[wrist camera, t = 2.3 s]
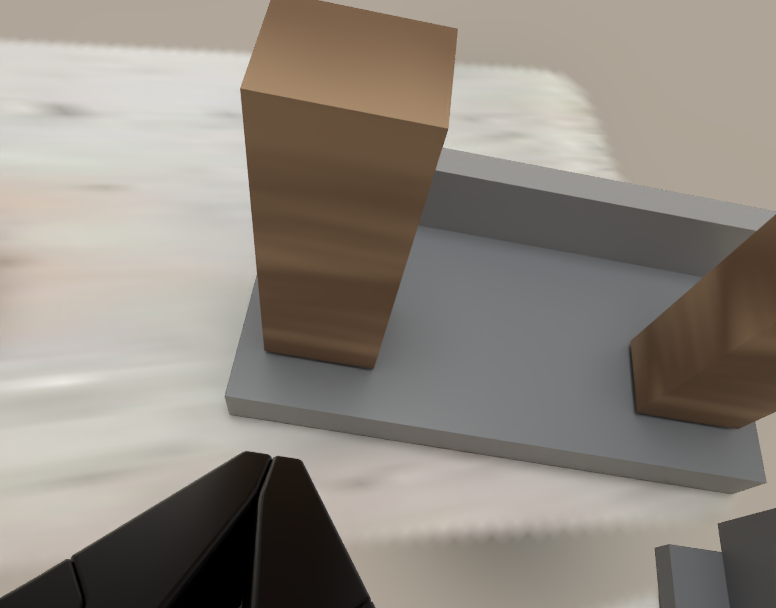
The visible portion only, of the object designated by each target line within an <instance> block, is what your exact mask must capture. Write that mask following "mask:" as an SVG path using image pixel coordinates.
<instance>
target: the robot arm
mask: <svg viewBox="0 0 776 608" xmlns="http://www.w3.org/2000/svg"><path fill="white" fill-rule="evenodd" d="M0 608H375V605H374V604H373V602H371V598H370V596H369V594H368V592H367V590H366V588H365V586H364V584H363V582H362V580H361V578H360V576H359V574H358V572H357V570H356V568H355V566H354V564H353V562H352V560H351V558H350V556H349V554H348V552H347V550H346V548H345V546H344V544H343V542H342V540H341V538H340V536H339V534H338V532H337V530H336V528H335V526H334V524H333V522H332V520H331V518H330V516H329V514H328V512H327V510H326V508H325V506H324V504H323V502H322V500H321V498H320V496H319V494H318V492H317V490H316V488H315V486H314V484H313V482H312V480H311V478H310V476H309V474H308V472H307V470H306V468H305V466H304V464H303V462H302V461H301V460H299V459H294V458H288V457H281V456H276V457H274V458H273V459H272V458H271V456H270V455H268V454H262V453H255V452H249V451H245V452H242V453H240V454H239V455H237V456H235V457H234V458H232V459H230V460H229V461H227V462H226V463H224V464H222V465H221V466H219V467H217V468H216V469H214V470H212V471H211V472H209V473H207V474H206V475H204V476H202V477H201V478H199V479H198V480H196V481H194V482H193V483H191V484H189V485H188V486H186V487H184V488H183V489H181V490H179V491H178V492H176V493H175V494H173V495H171V496H170V497H168V498H166V499H165V500H163V501H161V502H160V503H158V504H156V505H155V506H153V507H151V508H150V509H148V510H147V511H145V512H143V513H142V514H140V515H138V516H137V517H135V518H133V519H132V520H130V521H128V522H127V523H125V524H123V525H122V526H120V527H119V528H117V529H115V530H114V531H112V532H110V533H109V534H107V535H105V536H104V537H102V538H100V539H99V540H97V541H96V542H94V543H92V544H91V545H89V546H87V547H86V548H84V549H82V550H81V551H79V552H77V553H76V554H74V555H73V556H72V557H71V559H66V560H64V561H62V562H61V563H59V564H57V565H56V566H54V567H52V568H51V569H49V570H47V571H46V572H44V573H42V574H41V575H39V576H37V577H36V578H34V579H32V580H30V581H29V582H27V583H25V584H23V585H22V586H20V587H18V588H16V589H15V590H13V591H11V592H10V593H8V594H6V595H4V596H3V597H1V598H0Z"/></svg>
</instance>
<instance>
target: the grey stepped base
mask: <svg viewBox="0 0 776 608" xmlns="http://www.w3.org/2000/svg"><path fill="white" fill-rule="evenodd" d="M775 214H776V211H771V210H766V209H761V208H756V207H750V206H745V205H740V204H734V203H730V202H724V201H719V200H714V199H709V198H703V197H698V196H693V195H687V194H682V193H677V192H672V191H667V190H662V189H656V188H651V187H645V186H641V185H635V184H630V183H625V182H620V181H614V180H609V179H604V178H599V177H594V176H588V175H583V174H578V173H573V172H567V171H562V170H557V169H552V168H546V167H541V166H536V165H531V164H525V163H520V162H515V161H510V160H505V159H499V158H494V157H489V156H484V155H478V154H473V153H468V152H463V151H457V150H452V149H447V148H442V151H441V154H440V157H439V160H438V163H437V167H436V170H435V173H434V176H433V180H432V183H431V186H430V189H429V193H428V196H427V199H426V202H425V205H424V209H423V212H422V215H421V218H420V222H419V225H418V228H417V231H416V234H415V238H414V241H413V244H412V247H411V251H410V254H409V257H408V260H407V263H406V267H405V270H404V273H403V276H402V280H401V283H400V286H399V289H398V292H397V296H396V299H395V302H394V305H393V309H392V312H391V315H390V318H389V322H388V325H387V328H386V331H385V334H384V338H383V341H382V344H381V347H380V351H379V354H378V357H377V360H376V363H375V367H374V369H372V368H366V367H360V366H354V365H348V364H342V363H336V362H330V361H324V360H318V359H312V358H306V357H300V356H294V355H288V354H282V353H276V352H270V351H264V342H263V332H262V321H261V310H260V299H259V288H258V277H257V276H256V280H255V284H254V288H253V292H252V295H251V299H250V303H249V307H248V310H247V314H246V318H245V322H244V325H243V329H242V333H241V337H240V340H239V344H238V348H237V352H236V355H235V359H234V363H233V367H232V370H231V374H230V378H229V382H228V385H227V389H226V393H225V399H226V403H227V406H228V410H229V414H231V415H237V416H244V417H250V418H256V419H263V420H269V421H275V422H282V423H288V424H294V425H300V426H307V427H313V428H319V429H326V430H332V431H338V432H345V433H351V434H357V435H364V436H370V437H376V438H382V439H389V440H395V441H401V442H408V443H414V444H420V445H427V446H433V447H439V448H446V449H452V450H458V451H465V452H471V453H477V454H483V455H490V456H496V457H502V458H509V459H515V460H521V461H528V462H534V463H540V464H547V465H553V466H559V467H566V468H572V469H578V470H584V471H591V472H597V473H603V474H610V475H616V476H622V477H629V478H635V479H641V480H648V481H654V482H660V483H667V484H673V485H679V486H685V487H692V488H698V489H704V490H711V491H717V492H723V493H730V494H734V493H737V492H740V491H743V490H746V489H749V488H752V487H755V486H758V485H761V484H765V483H766V477H765V472H764V466H763V461H762V456H761V451H760V445H759V440H758V435H757V429H756V424H755V422H752V423H750V424H748V425H746V426H744V427H742V428H740V429H734V428H728V427H722V426H716V425H710V424H704V423H698V422H692V421H686V420H680V419H674V418H668V417H662V416H656V415H650V414H644V413H638V412H637V407H636V396H635V385H634V374H633V363H632V351H631V340H632V339H633V338H634V337H636V336H637V335H638V334H639V333H640V332H641V331H642V330H644V329H645V328H646V327H647V326H648V325H649V324H650V323H652V322H653V321H654V320H655V319H656V318H657V317H658V316H660V315H661V314H662V313H663V312H664V311H665V310H667V309H668V308H669V307H670V306H671V305H672V304H673V303H675V302H676V301H677V300H678V299H679V298H680V297H681V296H683V295H684V294H685V293H686V292H687V291H688V290H689V289H691V288H692V287H693V286H694V285H695V284H696V283H697V282H699V281H700V280H701V279H702V278H703V277H704V276H705V275H707V274H708V273H709V272H710V271H711V270H712V269H714V268H715V267H716V266H717V265H718V264H719V263H720V262H722V261H723V260H724V259H725V258H726V257H727V256H728V255H730V254H731V253H732V252H733V251H734V250H735V249H736V248H738V247H739V246H740V245H741V244H742V243H743V242H744V241H746V240H747V239H748V238H749V237H750V236H751V235H752V234H754V233H755V232H756V231H757V230H758V229H759V228H760V227H762V226H763V225H764V224H765V223H766V222H767V221H769V220H770V219H771V218H772V217H773V216H774V215H775Z"/></svg>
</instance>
